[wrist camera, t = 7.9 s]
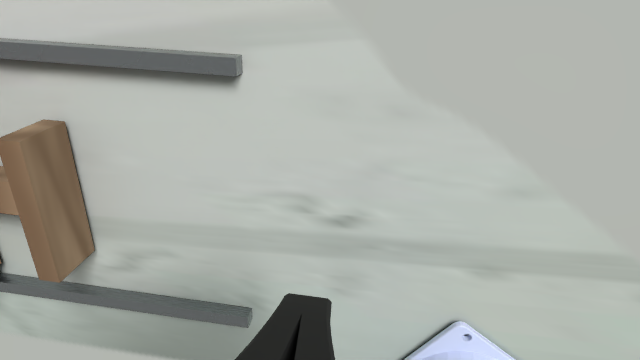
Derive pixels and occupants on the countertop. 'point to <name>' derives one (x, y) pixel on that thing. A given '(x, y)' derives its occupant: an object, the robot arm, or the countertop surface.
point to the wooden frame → (45, 197)
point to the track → (133, 60)
